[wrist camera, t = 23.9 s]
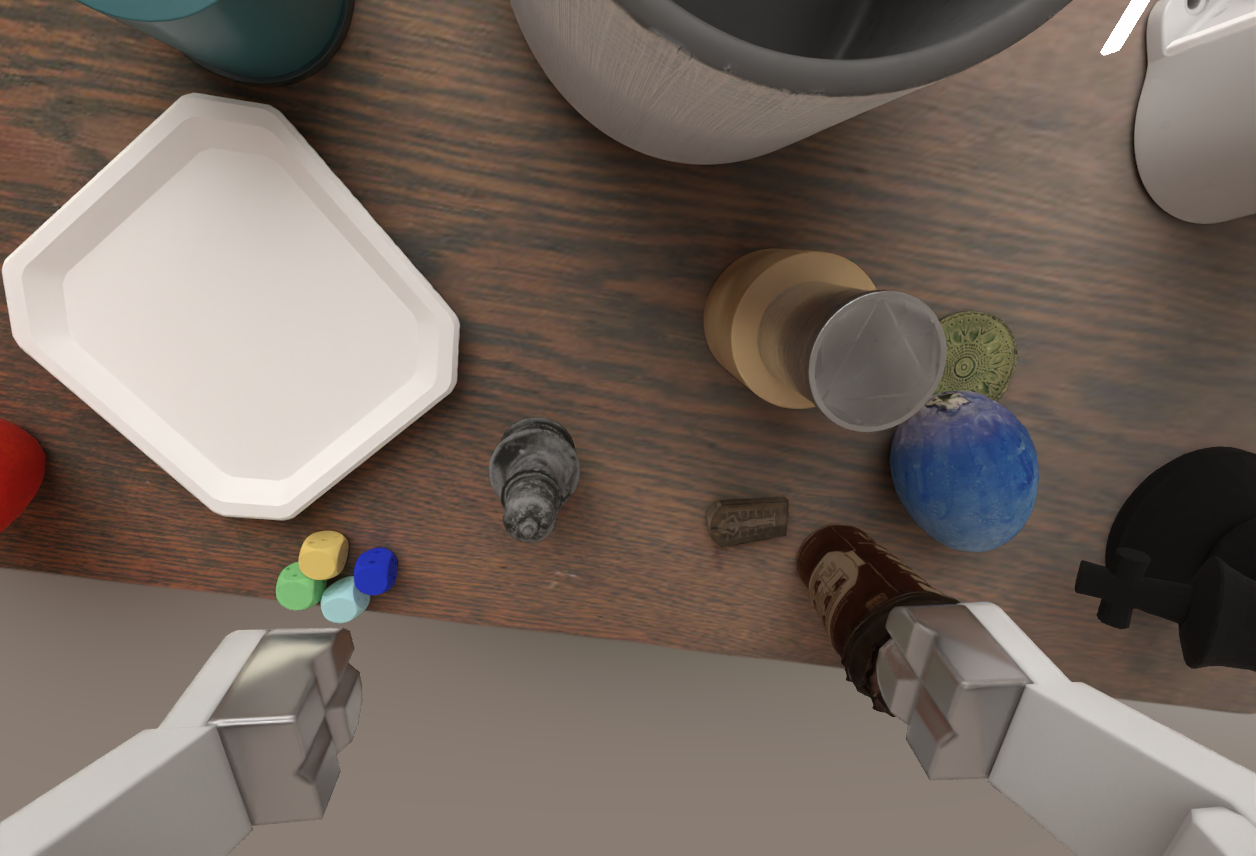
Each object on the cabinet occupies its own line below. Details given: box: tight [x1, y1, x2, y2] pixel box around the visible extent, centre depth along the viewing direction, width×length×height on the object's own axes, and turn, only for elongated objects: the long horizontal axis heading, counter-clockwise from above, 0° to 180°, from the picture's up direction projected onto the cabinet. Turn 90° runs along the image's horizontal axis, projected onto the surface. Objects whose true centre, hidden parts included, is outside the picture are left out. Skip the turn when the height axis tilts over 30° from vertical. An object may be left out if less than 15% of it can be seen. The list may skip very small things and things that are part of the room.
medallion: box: [933, 311, 1017, 402], centre depth 43 cm, size 8×8×1 cm
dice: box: [276, 531, 398, 623], centre depth 42 cm, size 8×3×6 cm
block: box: [706, 497, 788, 547], centre depth 45 cm, size 4×6×2 cm, turn 91°
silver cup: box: [757, 281, 947, 432], centre depth 30 cm, size 6×6×8 cm
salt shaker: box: [489, 417, 580, 543], centre depth 36 cm, size 6×6×12 cm
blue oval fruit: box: [890, 347, 1039, 552], centre depth 41 cm, size 9×9×15 cm
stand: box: [704, 248, 876, 409], centre depth 37 cm, size 9×9×7 cm
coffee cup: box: [797, 524, 960, 717], centre depth 41 cm, size 9×8×13 cm
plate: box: [2, 93, 460, 521], centre depth 36 cm, size 21×21×2 cm
